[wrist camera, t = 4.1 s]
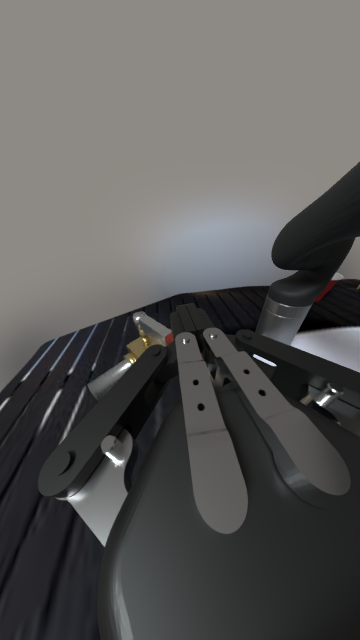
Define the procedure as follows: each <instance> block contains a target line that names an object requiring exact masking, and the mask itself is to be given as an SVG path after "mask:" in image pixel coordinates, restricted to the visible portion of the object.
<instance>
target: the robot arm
mask: <svg viewBox="0 0 360 640" xmlns="http://www.w3.org/2000/svg"><path fill="white" fill-rule="evenodd" d="M359 236H360V162H359V163H358V164H357V165H356V166H355V167H353V168H352V169H351V170H350V171H349V172H348V173H347V174H346V175H344V176H343V177H342V178H341V179H340V180H339V181H338V182H337V183H336V184H335V185H333V186H332V187H331V188H330V189H329V190H328V191H327V192H325V193H324V194H323V195H322V196H321V197H319V198H318V199H317V200H316V201H314V202H313V203H312V204H311V205H309V206H308V207H307V208H305V209H304V210H303V211H302V212H301V213H299V214H298V215H297V216H295V217H294V218H293V219H292V220H291V221H290V222H288V223H287V224H286V226H285V227H284V228H283V229H282V230H281V232H280V233H279V235H278V236H277V238H276V240H275V242H274V245H273V248H272V261H273V263H274V264H275V265H276V266H277V267H278V268H281V269H284V270H299V271H298V272H296V273H295V274H293V275H291V276H289V277H287V278H284V279H281V280H278V281H276V282H274V283H272V284H271V286H270V288H269V291H268V294H267V297H266V300H265V303H264V306H263V309H262V312H261V316H260V319H259V322H258V325H257V328H256V331H255V332H253V331H250V330H239V331H238V332H237V334H236V335H226V334H224V333H223V332H222V331H221V330H219V329H217V328H215V327H214V325H213V323H212V322H211V320H210V319H209V317H208V315H207V314H206V312H205V311H204V310H203V309H201V308H196V306H195V305H194V303H192V304H186V305H179V306H176V309H177V312H171V315H170V322H171V330H172V334H173V339H174V341H173V342H172V343H171V344H170V345H168V346H166V347H164V346H162V345H159V344H156V345H152V346H150V347H148V348H147V349H146V350H145V351H144V352H143V353H142V354H141V356H140V357H139V358H138V359H137V360H136V361H135V362H134V363H133V364H132V365H131V367H130V368H129V369H128V370H127V371H126V372H125V373H124V374H123V375H122V376H121V378H120V379H119V380H118V381H117V382H116V383H115V384H114V385H113V386H112V387H111V389H110V390H109V391H108V392H107V393H106V394H105V395H104V396H103V397H102V398H101V400H100V401H99V402H98V403H97V404H96V405H95V406H94V407H93V408H92V410H91V411H90V412H89V413H88V414H87V415H86V416H85V417H84V418H83V419H82V421H81V422H80V423H79V424H78V425H77V426H76V427H75V428H74V429H73V430H72V432H71V433H70V434H69V435H68V436H67V437H66V438H65V439H64V440H63V441H62V443H61V444H60V445H59V446H58V447H57V448H56V449H55V450H54V451H53V452H52V454H51V455H50V456H49V457H48V459H47V460H46V462H45V463H44V465H43V467H42V469H41V472H40V475H39V479H38V488H39V491H40V493H41V494H42V495H44V496H49V497H56V498H57V499H59V500H64V501H69V502H70V503H71V504H72V506H73V507H74V508H75V510H76V511H77V512H78V513H79V515H80V516H81V517H82V518H83V520H84V521H85V522H86V524H87V525H88V526H89V527H90V529H91V530H92V531H93V533H94V534H95V535H96V536H97V538H98V539H99V540H100V541H101V543H102V544H103V545H104V547H105V548H104V552H103V556H102V561H101V566H100V572H99V580H98V594H97V612H98V624H99V631H100V637H101V640H360V373H359V372H357V371H354V370H352V369H349V368H346V367H344V366H341V365H339V364H336V363H333V362H331V361H328V360H326V359H323V358H320V357H318V356H315V355H313V354H310V353H307V352H305V351H302V350H300V349H297V348H294V347H292V346H290V344H291V342H292V340H293V338H294V336H295V335H296V333H297V331H298V329H299V327H300V326H301V324H302V322H303V320H304V318H305V317H306V315H307V313H308V311H309V309H310V307H311V305H312V304H313V302H314V300H315V299H316V298H317V297H318V296H319V295H320V294H321V293H322V292H323V291H324V290H325V289H326V287H327V285H328V284H329V282H330V281H331V279H332V278H333V276H334V275H335V273H336V272H337V270H338V269H339V267H340V265H341V264H342V263H343V261H344V259H345V258H346V256H347V254H348V253H349V251H350V249H351V247H352V245H353V242H354V240H355V237H359ZM200 353H201V354H200ZM254 354H256V355H258V356H260V357H262V358H264V359H266V360H268V361H271V362H273V363H274V364H276V365H277V366H271V365H269V364H267V363H264V362H262V361H260V360H258V359H256V358H254V357H253V355H254ZM201 355H202V358H201ZM178 374H179V379H180V388H181V397H182V398H180V399H179V400H177V401H176V402H175V403H174V404H173V405H172V406H171V408H170V409H169V410H168V412H167V414H166V416H165V418H164V420H163V422H162V424H161V426H160V428H159V430H158V432H157V434H156V436H155V438H154V440H153V442H152V445H151V447H150V449H149V451H148V453H147V455H146V457H145V459H144V461H143V463H142V465H141V467H140V469H139V471H138V473H137V476H136V478H135V480H134V482H133V484H132V486H131V476H132V471H133V468H134V465H135V463H136V461H137V457H138V446H137V443H136V441H135V439H136V437H137V436H138V434H139V432H140V431H141V429H142V427H143V426H144V424H145V422H146V421H147V419H148V417H149V416H150V414H151V412H152V411H153V409H154V407H155V406H156V404H157V402H158V401H159V399H160V397H161V396H162V394H163V392H164V391H165V389H166V387H167V386H168V384H169V383H170V380H171V378H173V377H175V376H177V375H178ZM211 381H212V382H211ZM212 384H213V386H212Z"/></svg>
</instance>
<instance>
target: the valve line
mask: <svg viewBox="0 0 360 640" xmlns="http://www.w3.org/2000/svg"><path fill="white" fill-rule="evenodd" d="M170 330H171V329H170ZM171 331H172V330H171ZM139 333H140V336H141V337H140V338H138V339H136V340H135V341H133V342H132V343H130V344H128V345H127V348H128V351H129V353H128V354H127V355H125V356H123V358H124V360H123V361H122V362H120V363H119V364H117V365H116V366H114V367H113V368H111V369H110V370H108V371H107V372H105V373H104V374H102V375H101V376H99V377H98V378H96V379H95V380H93V381H92V382H90V383H89V384H87V385H88V387H89V389H90V391H91V392H92V394H93V396H94V397H95V398H96V400H97V401H100V400H101V398H102V397H103V396H104V395H105V394H106V393H107V392H108V391H109V390H110V389H111V387H112V386H113V385H114V384H115V383H116V382H117V381H118V380H119V379H120V378H121V376H122V375H123V374H124V373H125V372H126V371H127V370H128V369H129V368H130V367H131V365H132V364H133V363H134V362H135V361H136V360H137V359H138V358H139V357H140V356H141V354H142V353H143V352H144V351H145V350H146V349H147V348H148V347H150V346H152V345H156V344H159V345H161V344H160V343H158V342H157V341H156V340H154V339H153V338H152V337H150V336H149V335H148V334H146V333H145V332H144V331H142V330H141V329H139Z"/></svg>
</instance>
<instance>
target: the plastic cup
mask: <svg viewBox="0 0 360 640" xmlns="http://www.w3.org/2000/svg"><path fill="white" fill-rule="evenodd" d="M341 279H343V275H341V274H339V273H337V272H336V273H335V275H334V276H333V278H332V279H331V281H330V282H329V284H328V285H327V287H326V289H325V290H324V291H323V292H322V293H321V294H320V295H319V296H318V297H317V298H316V299H315V300H314V301H320V300H321V299H322V298H323V297H324V296H325V294H327V292H328V291H329V290H330V289H331V288H332V287H333V286H334V285H335V284H336V283H337V282H338V281H339V280H341Z"/></svg>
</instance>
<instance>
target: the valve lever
mask: <svg viewBox="0 0 360 640" xmlns="http://www.w3.org/2000/svg"><path fill="white" fill-rule="evenodd" d="M133 319H134V322H135V326H136V328H137V329H141V330H142V331H144V332H145V333H146V334H148V335H149V336H150V337H152V338H153V339H154V340H156V341H157V342H158V343H160V344H161V345H162V346H164V347H166V346H168V345H170V344H171V343H172V342H173V341H174V339H173V334H172V331H171V330H169V329H168V328H166V327H164V326H163V325H161V324H160V323H158V322H156V321H155V320H153V319H152V318H150V317H148V316H147V315H146V314H145V312H136V313H135V314H133ZM200 354H201V353H200ZM201 358H202V355H201Z"/></svg>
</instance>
